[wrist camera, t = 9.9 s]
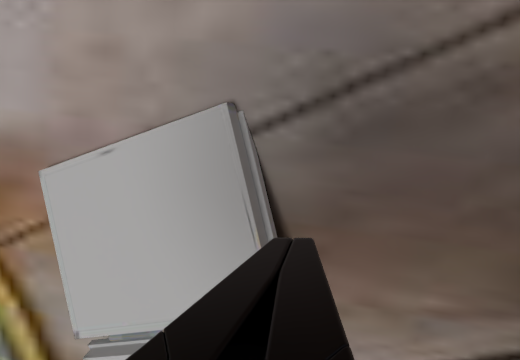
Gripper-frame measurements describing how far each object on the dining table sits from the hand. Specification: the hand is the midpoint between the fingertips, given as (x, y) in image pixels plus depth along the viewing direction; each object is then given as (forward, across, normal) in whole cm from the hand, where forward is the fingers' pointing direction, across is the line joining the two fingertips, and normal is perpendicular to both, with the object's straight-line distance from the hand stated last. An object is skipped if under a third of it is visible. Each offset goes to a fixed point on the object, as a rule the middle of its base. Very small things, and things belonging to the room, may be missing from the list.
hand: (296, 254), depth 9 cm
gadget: (+12, +10, +13) cm, 20 cm away
